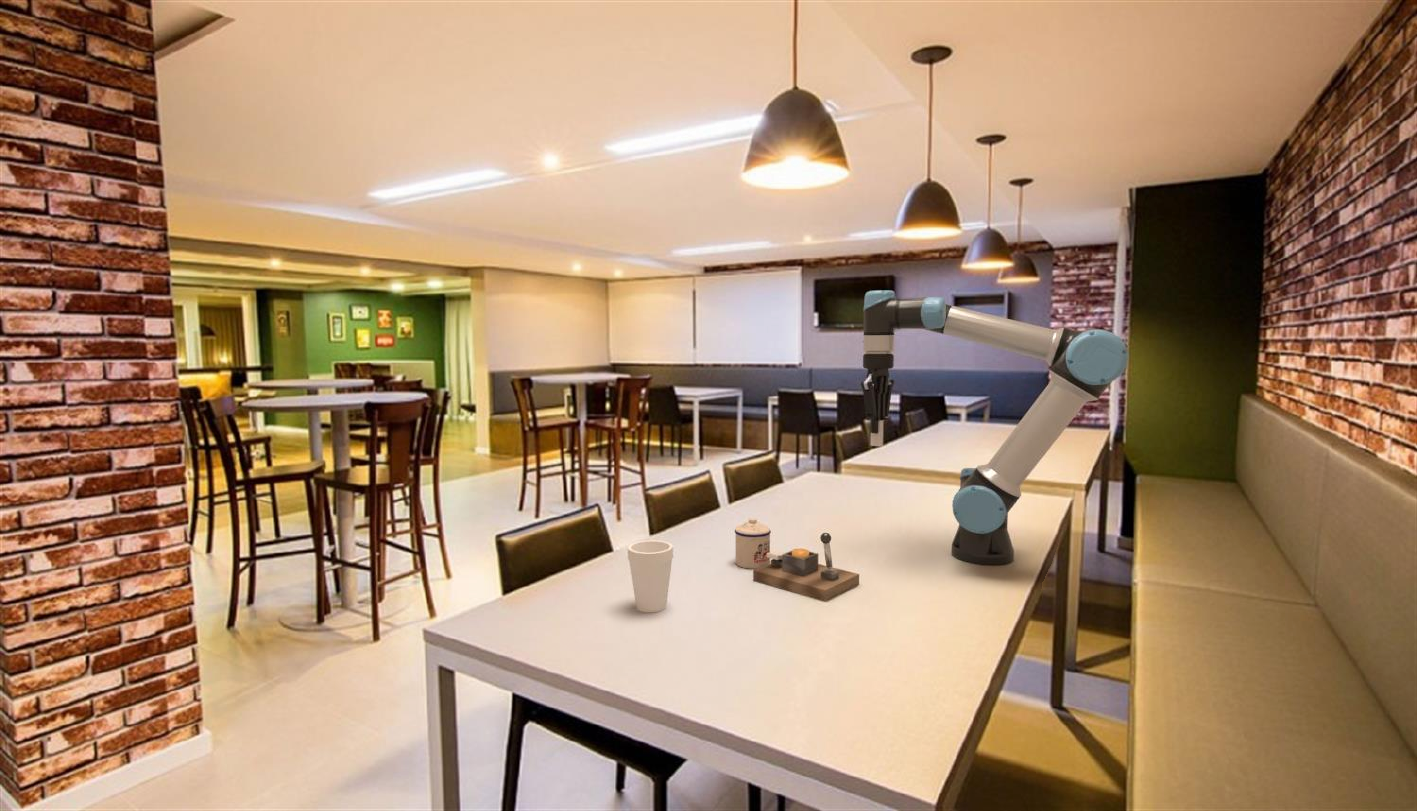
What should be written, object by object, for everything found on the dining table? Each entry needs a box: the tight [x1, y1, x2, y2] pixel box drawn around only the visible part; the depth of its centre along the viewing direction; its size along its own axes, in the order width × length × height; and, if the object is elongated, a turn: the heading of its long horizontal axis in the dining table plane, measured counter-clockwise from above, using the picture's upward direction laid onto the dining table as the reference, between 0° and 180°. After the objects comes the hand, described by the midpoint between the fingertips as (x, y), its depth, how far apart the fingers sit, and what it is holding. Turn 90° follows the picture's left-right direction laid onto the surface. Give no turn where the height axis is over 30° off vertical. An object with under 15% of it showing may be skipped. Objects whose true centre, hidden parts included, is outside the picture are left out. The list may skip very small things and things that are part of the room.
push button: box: [791, 548, 810, 558], centre depth 161 cm, size 4×4×3 cm
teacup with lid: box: [734, 517, 772, 570], centre depth 175 cm, size 12×9×12 cm
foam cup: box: [627, 540, 674, 614], centre depth 145 cm, size 10×9×13 cm
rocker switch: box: [766, 551, 787, 560], centre depth 165 cm, size 3×6×1 cm, turn 138°
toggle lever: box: [819, 532, 833, 569], centre depth 154 cm, size 2×2×9 cm
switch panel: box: [752, 550, 860, 603], centre depth 160 cm, size 20×14×6 cm
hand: (876, 445), depth 175 cm, fingers closed
